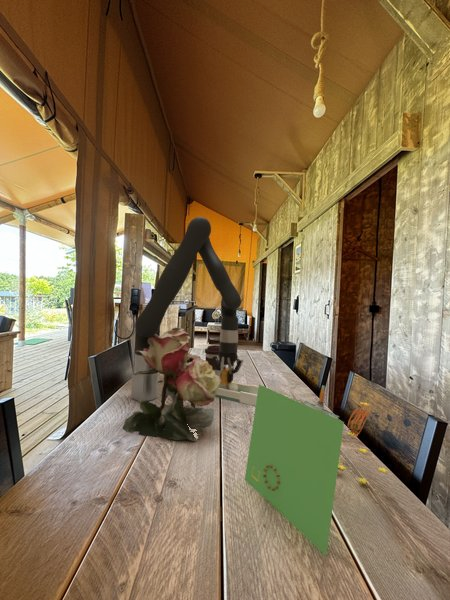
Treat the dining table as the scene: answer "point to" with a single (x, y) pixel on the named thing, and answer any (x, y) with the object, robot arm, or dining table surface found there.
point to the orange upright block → (225, 379)
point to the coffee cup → (210, 353)
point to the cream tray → (240, 393)
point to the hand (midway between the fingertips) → (226, 381)
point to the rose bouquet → (175, 389)
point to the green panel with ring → (298, 459)
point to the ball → (233, 387)
